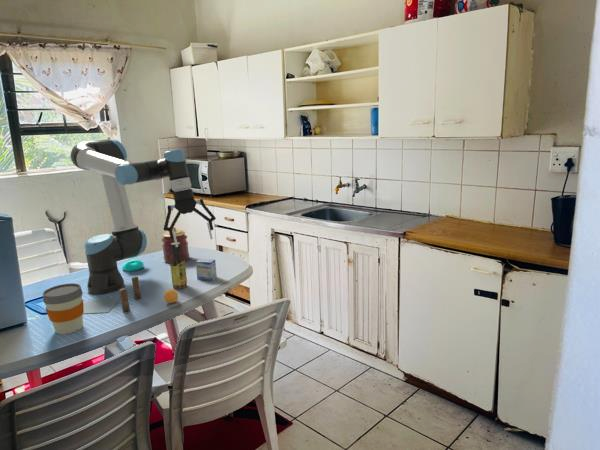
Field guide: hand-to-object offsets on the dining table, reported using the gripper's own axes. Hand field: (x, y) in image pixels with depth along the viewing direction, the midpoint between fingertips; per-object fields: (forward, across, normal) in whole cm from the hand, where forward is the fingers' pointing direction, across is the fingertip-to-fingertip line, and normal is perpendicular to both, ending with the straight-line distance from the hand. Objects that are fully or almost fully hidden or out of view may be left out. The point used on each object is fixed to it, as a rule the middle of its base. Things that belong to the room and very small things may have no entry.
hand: (194, 242), depth 176 cm
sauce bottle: (+20, -10, +20) cm, 30 cm away
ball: (+19, -14, +3) cm, 24 cm away
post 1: (+20, -31, +2) cm, 37 cm away
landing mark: (+18, -43, +11) cm, 48 cm away
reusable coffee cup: (+20, -50, -6) cm, 54 cm away
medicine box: (+21, +2, +26) cm, 34 cm away
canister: (+15, -11, +60) cm, 63 cm away
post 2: (+19, -28, +14) cm, 36 cm away
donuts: (+13, -33, +55) cm, 65 cm away
